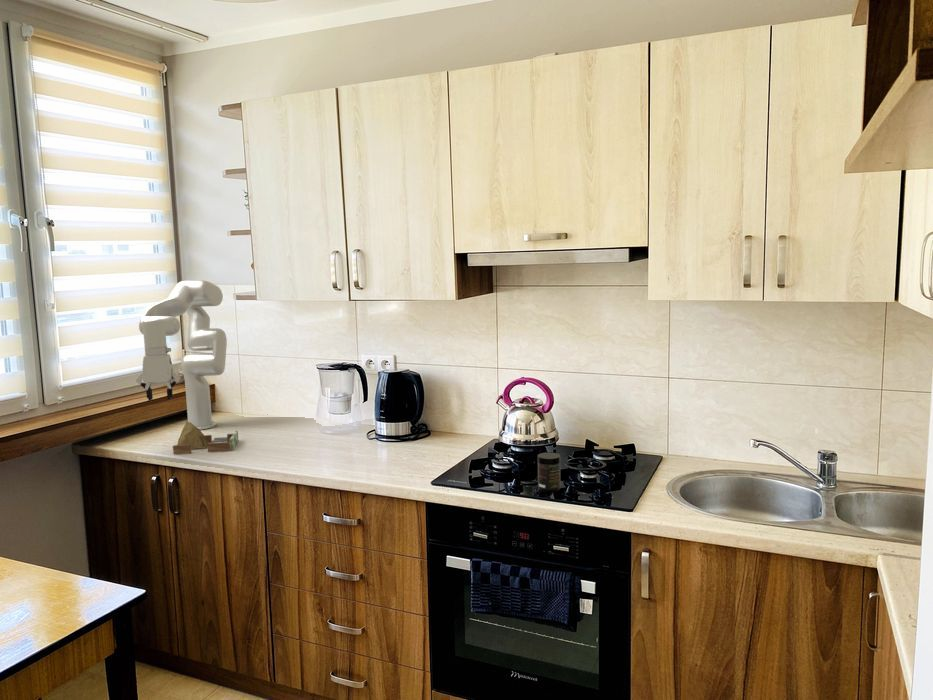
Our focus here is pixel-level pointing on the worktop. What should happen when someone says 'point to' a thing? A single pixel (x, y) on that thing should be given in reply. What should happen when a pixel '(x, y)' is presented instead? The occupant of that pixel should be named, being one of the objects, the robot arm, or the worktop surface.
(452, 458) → the worktop surface
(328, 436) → the worktop surface
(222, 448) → the box
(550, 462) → the supplement container
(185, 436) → the rock
